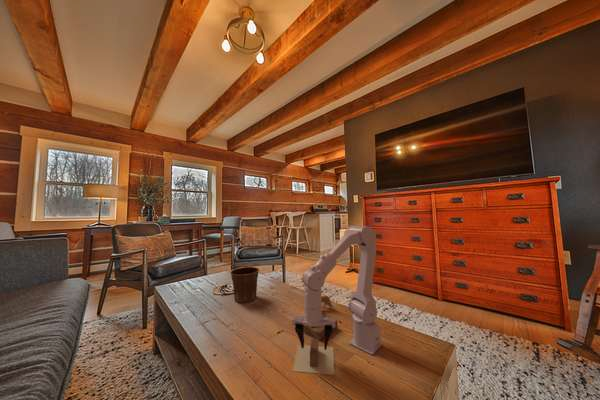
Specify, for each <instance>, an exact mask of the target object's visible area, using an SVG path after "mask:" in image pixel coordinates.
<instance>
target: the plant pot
mask: <svg viewBox="0 0 600 400" xmlns="http://www.w3.org/2000/svg"><path fill="white" fill-rule="evenodd" d="M259 272H260V269H259V268H258V267H254V266H245V267H238V268H235V269H232V270H231V271H230V276H231V281H232V289H233V298H234V301H235V302H236V303H239V304H245V303H250V302H253V301H254V300H255V299H256V298H257V291H258V290H257V288H258V277H259Z"/></svg>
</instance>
